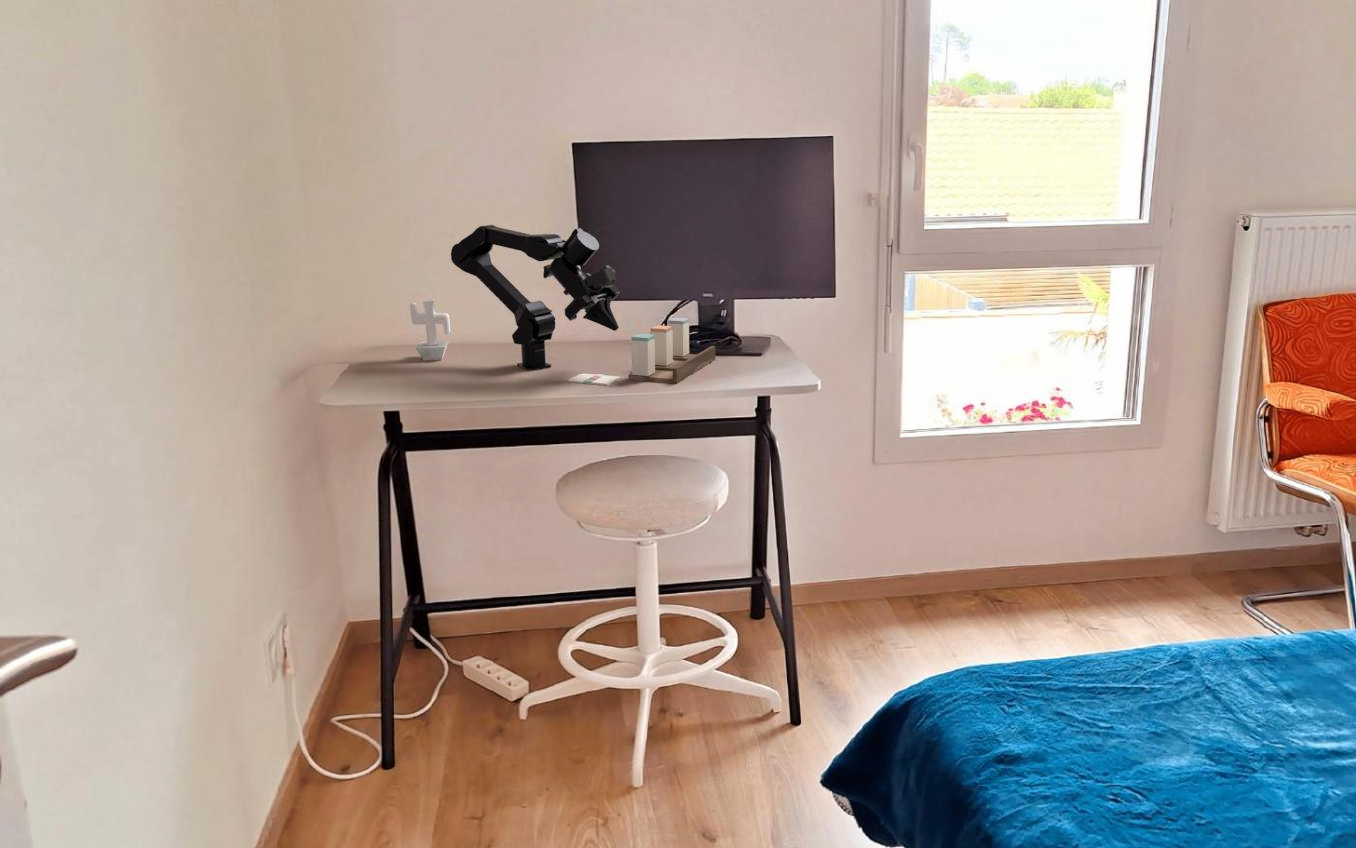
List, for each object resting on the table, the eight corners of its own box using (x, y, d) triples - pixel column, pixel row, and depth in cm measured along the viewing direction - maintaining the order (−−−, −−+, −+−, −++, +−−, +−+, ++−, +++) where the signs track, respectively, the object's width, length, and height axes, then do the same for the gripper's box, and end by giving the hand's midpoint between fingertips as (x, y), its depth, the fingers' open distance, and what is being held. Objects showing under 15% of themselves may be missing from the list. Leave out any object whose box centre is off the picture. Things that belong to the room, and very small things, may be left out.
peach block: (651, 364, 235) (650, 328, 232) (657, 361, 238) (657, 325, 236) (666, 365, 233) (666, 329, 231) (672, 362, 237) (672, 326, 234)
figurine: (450, 361, 245) (446, 301, 241) (412, 362, 244) (407, 302, 240) (454, 355, 252) (449, 296, 248) (416, 356, 251) (411, 297, 247)
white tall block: (632, 374, 225) (631, 336, 222) (639, 370, 228) (638, 333, 226) (648, 376, 223) (647, 338, 221) (655, 372, 227) (654, 334, 224)
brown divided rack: (628, 379, 225) (628, 364, 224) (670, 356, 249) (670, 342, 248) (676, 383, 221) (676, 368, 220) (715, 359, 244) (715, 346, 243)
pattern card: (567, 381, 223) (567, 379, 223) (582, 374, 230) (582, 372, 230) (607, 385, 220) (607, 382, 220) (620, 378, 226) (620, 375, 226)
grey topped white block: (668, 355, 244) (668, 320, 242) (674, 352, 248) (674, 317, 245) (683, 356, 243) (683, 321, 240) (689, 353, 246) (688, 318, 244)
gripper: (574, 259, 214) (621, 312, 213) (611, 250, 231) (655, 299, 230) (544, 293, 219) (590, 345, 218) (582, 282, 236) (625, 330, 235)
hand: (616, 329), depth 225 cm, fingers closed
